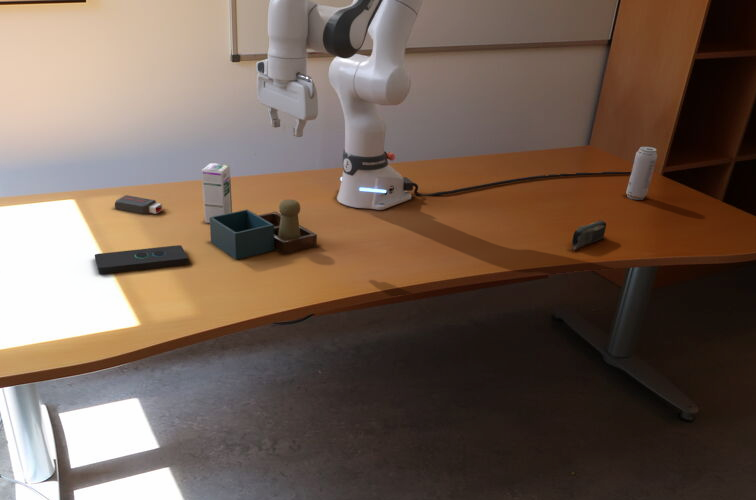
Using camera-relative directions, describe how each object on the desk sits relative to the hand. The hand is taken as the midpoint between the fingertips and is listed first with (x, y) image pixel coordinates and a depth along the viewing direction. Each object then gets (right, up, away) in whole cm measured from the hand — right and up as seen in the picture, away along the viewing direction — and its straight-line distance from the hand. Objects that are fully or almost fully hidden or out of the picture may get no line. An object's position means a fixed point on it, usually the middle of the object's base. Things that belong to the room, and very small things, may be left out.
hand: (286, 131), depth 173 cm
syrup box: (-20, -17, +23) cm, 35 cm away
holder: (-3, -22, +15) cm, 27 cm away
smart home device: (-33, -31, -1) cm, 46 cm away
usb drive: (-42, -13, +27) cm, 52 cm away
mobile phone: (+77, -23, +22) cm, 83 cm away
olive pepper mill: (0, -24, +12) cm, 27 cm away
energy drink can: (+103, -3, +56) cm, 118 cm away
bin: (-12, -25, +9) cm, 29 cm away
